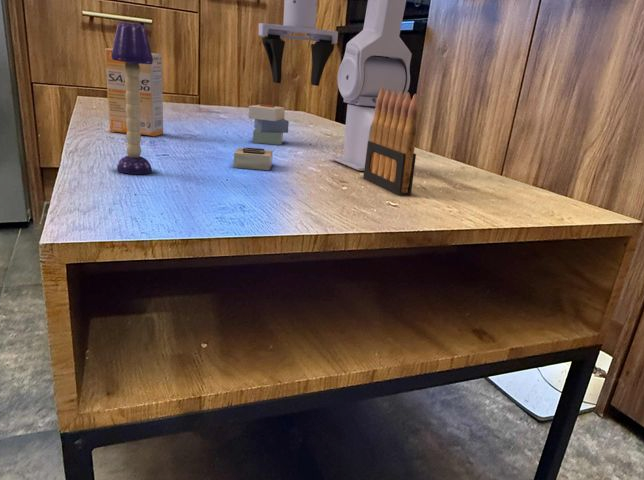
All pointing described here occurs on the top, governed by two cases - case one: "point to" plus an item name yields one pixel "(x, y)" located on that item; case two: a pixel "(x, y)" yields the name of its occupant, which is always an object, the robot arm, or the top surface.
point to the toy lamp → (132, 90)
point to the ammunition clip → (392, 142)
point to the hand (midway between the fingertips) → (296, 84)
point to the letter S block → (253, 158)
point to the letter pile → (268, 124)
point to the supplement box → (148, 93)
